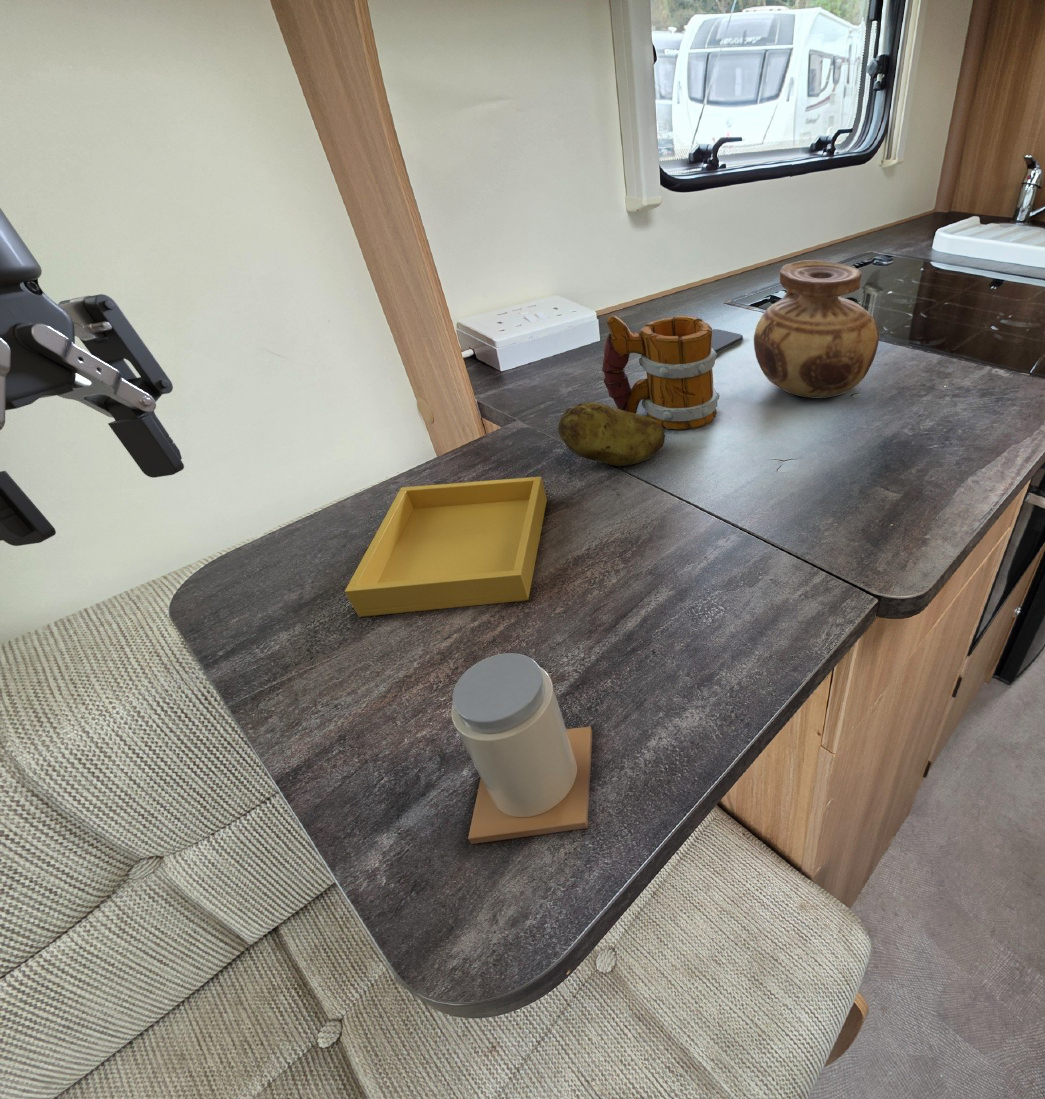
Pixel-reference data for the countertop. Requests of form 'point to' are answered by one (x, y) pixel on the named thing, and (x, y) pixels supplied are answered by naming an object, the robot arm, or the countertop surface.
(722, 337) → the phone
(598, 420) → the potato
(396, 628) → the countertop surface
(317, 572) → the countertop surface
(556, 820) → the trivet
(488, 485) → the tray
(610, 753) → the countertop surface
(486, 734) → the jar with grey lid
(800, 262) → the clay pot
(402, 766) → the countertop surface
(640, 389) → the mug
